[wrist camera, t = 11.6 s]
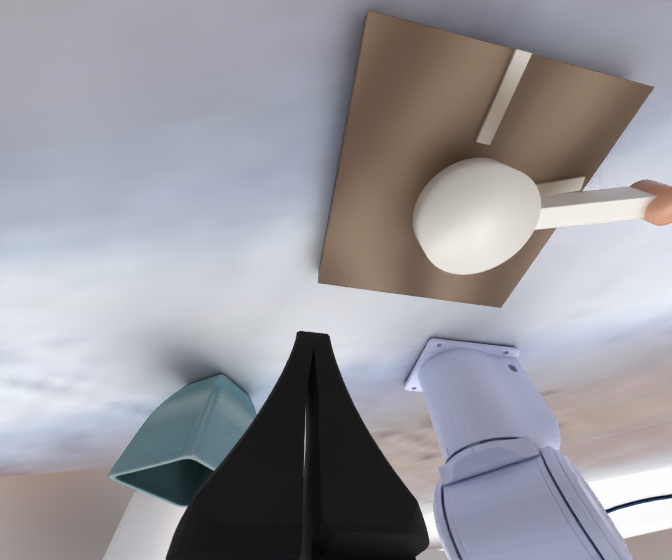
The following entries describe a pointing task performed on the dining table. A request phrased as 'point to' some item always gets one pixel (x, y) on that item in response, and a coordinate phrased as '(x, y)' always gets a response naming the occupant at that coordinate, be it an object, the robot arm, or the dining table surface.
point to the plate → (644, 527)
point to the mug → (145, 529)
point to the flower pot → (185, 440)
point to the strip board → (456, 148)
